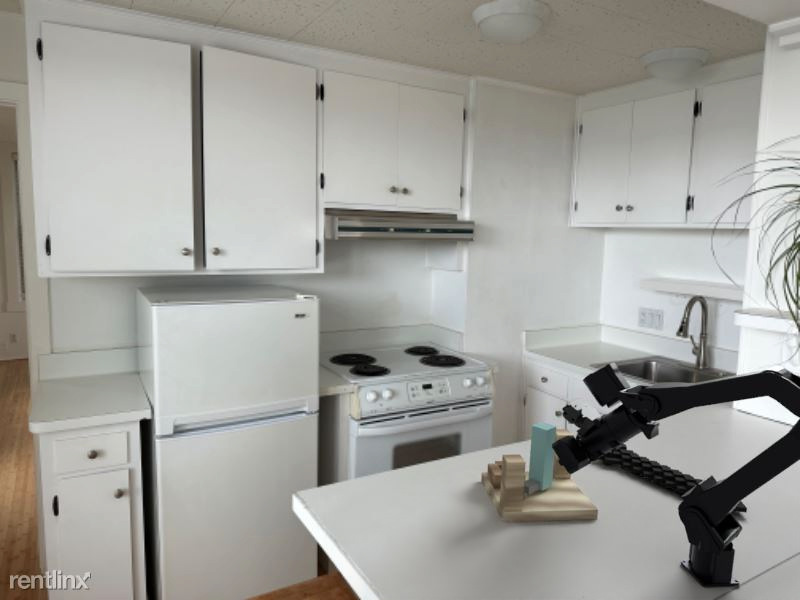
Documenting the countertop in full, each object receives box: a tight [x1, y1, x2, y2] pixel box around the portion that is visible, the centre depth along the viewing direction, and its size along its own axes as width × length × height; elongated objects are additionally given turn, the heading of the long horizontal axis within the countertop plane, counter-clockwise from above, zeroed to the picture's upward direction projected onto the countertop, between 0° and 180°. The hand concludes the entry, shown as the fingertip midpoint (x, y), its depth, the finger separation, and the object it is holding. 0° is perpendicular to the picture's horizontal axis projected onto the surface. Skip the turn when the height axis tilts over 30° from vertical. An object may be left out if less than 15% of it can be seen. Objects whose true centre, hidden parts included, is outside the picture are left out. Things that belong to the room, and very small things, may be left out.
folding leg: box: [525, 421, 557, 495], centre depth 115 cm, size 7×4×13 cm, turn 132°
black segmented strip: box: [575, 435, 748, 513], centre depth 130 cm, size 11×40×4 cm, turn 33°
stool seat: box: [480, 428, 599, 523], centre depth 116 cm, size 17×19×12 cm
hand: (560, 463), depth 113 cm, fingers closed
